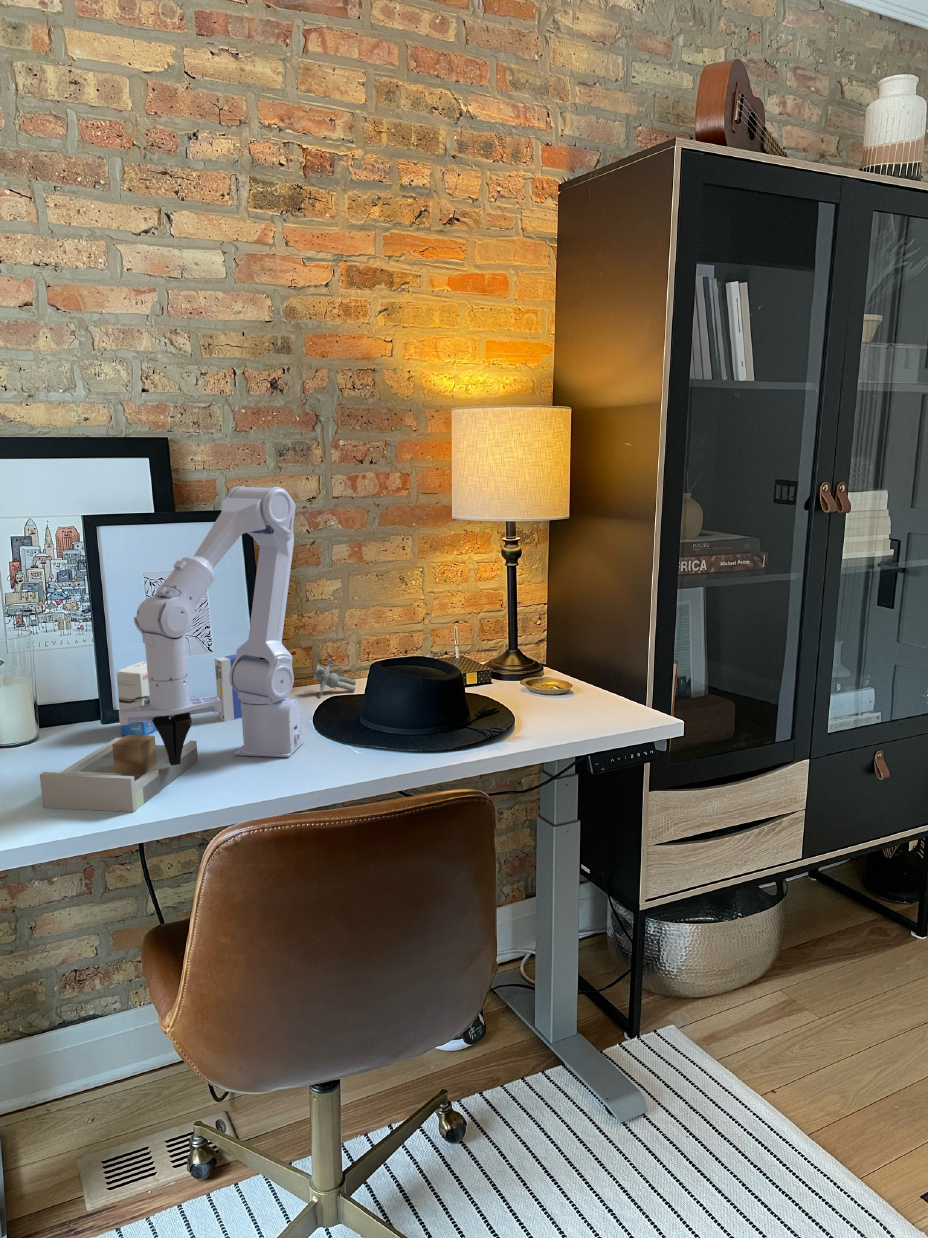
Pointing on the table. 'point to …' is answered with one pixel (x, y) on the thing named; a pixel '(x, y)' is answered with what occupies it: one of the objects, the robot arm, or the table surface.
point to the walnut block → (134, 754)
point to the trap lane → (111, 781)
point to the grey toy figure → (332, 679)
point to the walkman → (226, 689)
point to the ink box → (134, 696)
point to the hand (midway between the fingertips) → (174, 762)
